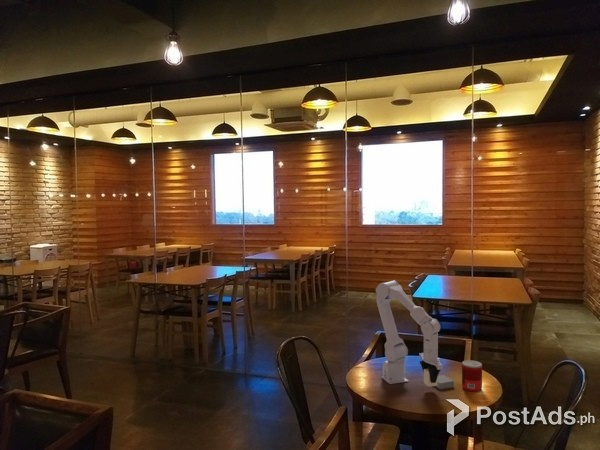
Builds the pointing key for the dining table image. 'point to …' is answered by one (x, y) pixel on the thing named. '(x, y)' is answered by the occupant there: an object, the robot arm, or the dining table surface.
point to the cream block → (428, 378)
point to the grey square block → (444, 382)
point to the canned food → (472, 376)
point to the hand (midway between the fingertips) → (430, 380)
